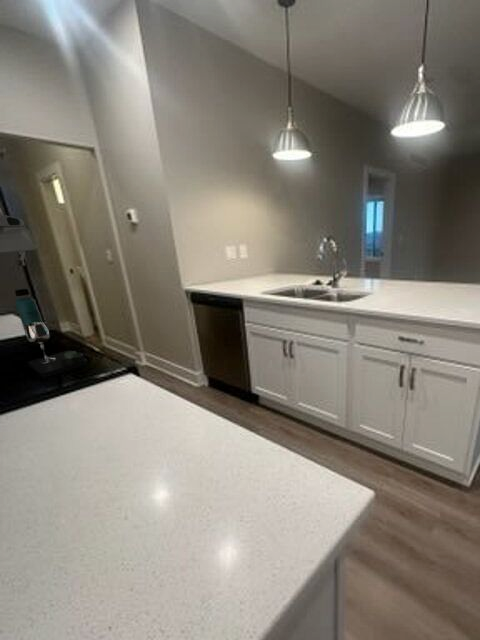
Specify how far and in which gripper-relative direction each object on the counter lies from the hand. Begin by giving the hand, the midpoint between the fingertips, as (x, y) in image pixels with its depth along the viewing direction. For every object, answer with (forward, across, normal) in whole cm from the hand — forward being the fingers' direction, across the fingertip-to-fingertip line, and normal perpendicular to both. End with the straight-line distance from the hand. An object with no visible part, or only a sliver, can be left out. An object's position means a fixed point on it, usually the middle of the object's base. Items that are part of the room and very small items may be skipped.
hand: (4, 267), depth 109 cm
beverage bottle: (+29, +5, +16) cm, 34 cm away
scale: (+29, +1, -21) cm, 36 cm away
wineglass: (+28, -1, -18) cm, 33 cm away
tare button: (+27, +4, -26) cm, 37 cm away
